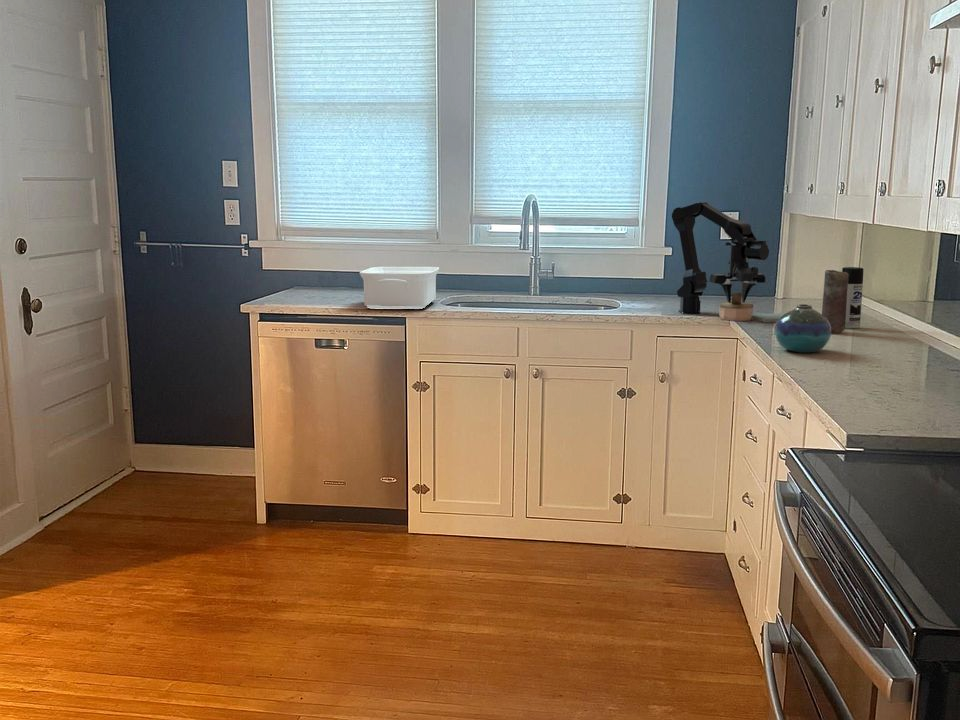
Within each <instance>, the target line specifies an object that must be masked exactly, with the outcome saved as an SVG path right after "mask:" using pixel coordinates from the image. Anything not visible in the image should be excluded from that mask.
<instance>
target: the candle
mask: <svg viewBox="0 0 960 720" xmlns="http://www.w3.org/2000/svg"><path fill="white" fill-rule="evenodd" d="M848 276H849V274H848V273H846V272H842V271H839V270H833V269H825V271H824V280H823V281H824V283H823V293H822V295H823V296H822V307H821V314H822V315H823V316H824V317H826V318H827V319H828V321H829V322H830V325H831V333H835V334H836V333H842V332H844V331H845V320H846V305H847V290H848Z"/></svg>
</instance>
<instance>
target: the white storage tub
mask: <svg viewBox="0 0 960 720" xmlns="http://www.w3.org/2000/svg"><path fill="white" fill-rule="evenodd" d="M439 270H440V267H439V266H373V267H368V268H366V269H364V270H361V271H359V276H360V277H361V279H362V280H363V298H364V299H363V302H364V306H365V305H381V306H427V305H429V304H430V303H431V302H433V301H434V300H435V301H436V297H437V295H436V293H437V292H436V291H437V285H436V283H437V281H436V280H437V279H436V278H437V274H439ZM435 301H434V302H435ZM434 302H433V303H434ZM430 305H431V304H430ZM430 305H429V306H430ZM427 307H428V306H427Z"/></svg>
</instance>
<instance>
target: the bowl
mask: <svg viewBox="0 0 960 720" xmlns="http://www.w3.org/2000/svg"><path fill="white" fill-rule="evenodd" d="M718 309H719V311H718V313H719V314H718V315H719V316H720V317H719V319H721V320H723V321H731V322H745V321H747V322H748V321H751V320H752V318H751V317H753V314H754V306H753V307H752V308H742V309H738V308H724V307H720V306H719V308H718Z"/></svg>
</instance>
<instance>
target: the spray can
mask: <svg viewBox="0 0 960 720" xmlns="http://www.w3.org/2000/svg"><path fill="white" fill-rule="evenodd" d="M864 270H865V269H864V268H863V267H859V266H858V267H856V266H846V267H842V268H841V272H846V273H848V274H849V276H848V290H847V305H846V320H845V329H846V330H859V329H861V319H862V317H861V316H862V314H861V313H862V303H863V302H862V300H863V289H864V288H863V284H864Z"/></svg>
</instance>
